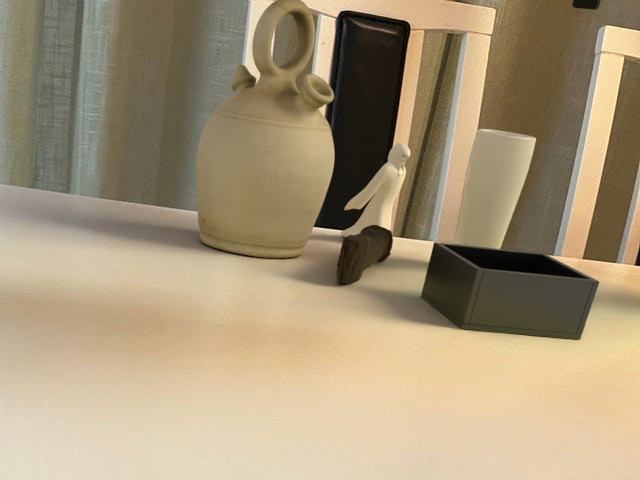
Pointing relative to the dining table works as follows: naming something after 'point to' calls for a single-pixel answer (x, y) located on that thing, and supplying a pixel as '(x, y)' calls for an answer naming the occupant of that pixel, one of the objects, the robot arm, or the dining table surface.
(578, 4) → the robot arm
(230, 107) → the jug
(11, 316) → the dining table surface
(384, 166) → the figurine
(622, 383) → the dining table surface
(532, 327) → the bin
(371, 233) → the rough brown chunk
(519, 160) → the drinking glass
